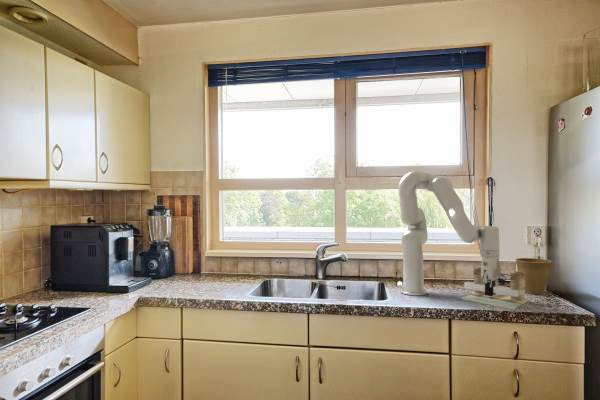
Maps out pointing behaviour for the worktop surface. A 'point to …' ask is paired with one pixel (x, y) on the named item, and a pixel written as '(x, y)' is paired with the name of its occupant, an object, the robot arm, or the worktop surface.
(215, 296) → the worktop surface
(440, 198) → the robot arm
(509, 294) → the rail
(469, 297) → the mat
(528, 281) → the plant pot
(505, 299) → the rail rack
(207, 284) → the worktop surface
